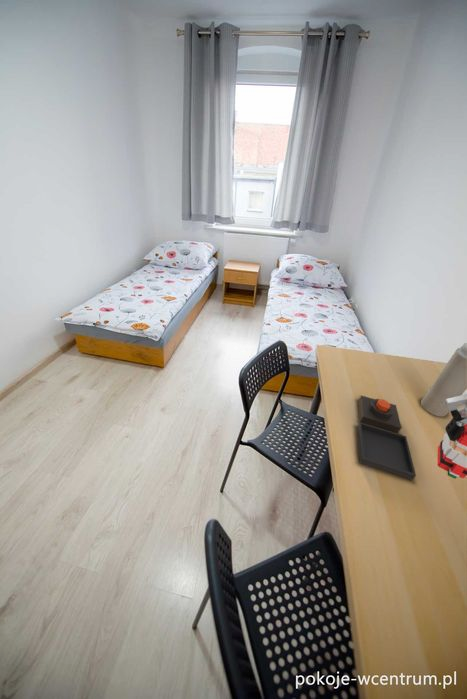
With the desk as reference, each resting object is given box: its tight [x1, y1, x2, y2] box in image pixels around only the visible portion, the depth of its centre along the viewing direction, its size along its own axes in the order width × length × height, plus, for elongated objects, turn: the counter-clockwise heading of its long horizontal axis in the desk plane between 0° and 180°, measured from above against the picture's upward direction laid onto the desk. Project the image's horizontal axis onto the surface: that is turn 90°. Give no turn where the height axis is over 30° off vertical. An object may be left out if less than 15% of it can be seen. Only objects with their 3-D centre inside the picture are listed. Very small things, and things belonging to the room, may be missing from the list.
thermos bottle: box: [420, 342, 467, 417], centre depth 87 cm, size 8×8×28 cm
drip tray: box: [356, 422, 417, 481], centre depth 77 cm, size 13×13×2 cm
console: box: [357, 395, 402, 434], centre depth 87 cm, size 11×10×4 cm
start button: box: [376, 399, 391, 412], centre depth 86 cm, size 4×4×2 cm
